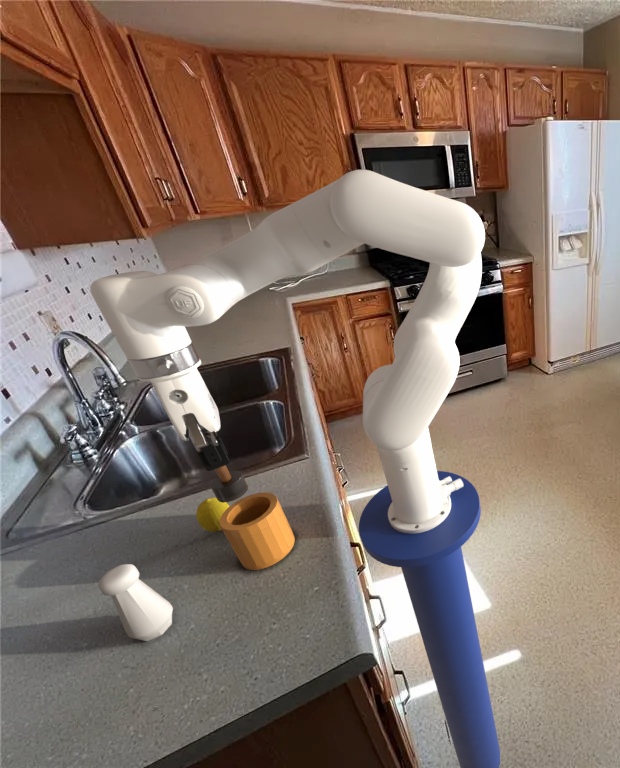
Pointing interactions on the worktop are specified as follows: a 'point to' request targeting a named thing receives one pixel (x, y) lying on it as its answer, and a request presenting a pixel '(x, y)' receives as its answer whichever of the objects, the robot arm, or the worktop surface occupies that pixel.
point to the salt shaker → (136, 603)
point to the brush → (228, 484)
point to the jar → (257, 530)
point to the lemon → (211, 514)
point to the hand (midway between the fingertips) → (218, 462)
